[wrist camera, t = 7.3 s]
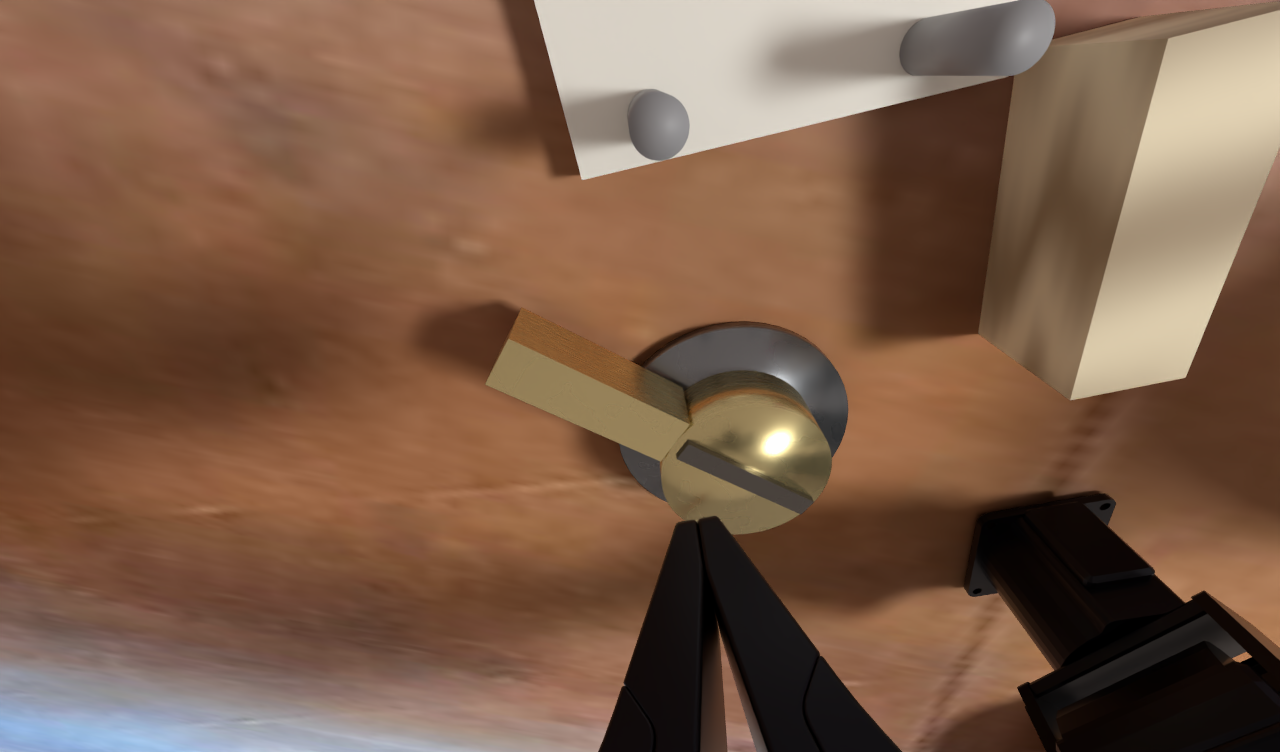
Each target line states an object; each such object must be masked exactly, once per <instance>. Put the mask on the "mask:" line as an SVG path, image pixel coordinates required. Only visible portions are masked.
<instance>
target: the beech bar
mask: <svg viewBox="0 0 1280 752" xmlns="http://www.w3.org/2000/svg"><path fill="white" fill-rule="evenodd" d="M1279 147H1280V1H1277V2H1268V3H1259V4H1250V5H1241V6H1232V7H1223V8H1214V9H1205V10H1196V11H1187V12H1178V13H1170V14H1161V15H1152V16H1143V17H1137V18H1134V19H1130V20H1126V21H1122V22H1118V23H1114V24H1110V25H1107V26H1103V27H1099V28H1095V29H1091V30H1087V31H1083V32H1080V33H1076V34H1072V35H1068V36H1064V37H1060V38H1056V39H1053V40H1051V43H1050V45H1049V47H1048V48H1047V50H1046V52H1045V53H1044V55H1043V56H1042V57H1041V58H1040V59H1039V60H1038V62H1037V63H1035V64H1034V65H1033V66H1032V67H1031V68H1029V69H1028V70H1026V71H1024V72H1022V73H1020V74H1017V75H1014V82H1013V89H1012V96H1011V103H1010V110H1009V117H1008V124H1007V131H1006V139H1005V146H1004V153H1003V160H1002V167H1001V174H1000V181H999V189H998V196H997V203H996V210H995V217H994V224H993V231H992V239H991V246H990V253H989V260H988V267H987V274H986V281H985V288H984V296H983V303H982V310H981V317H980V324H979V331H978V334H979V335H980V336H982V337H983V338H985V339H986V340H987V341H989V342H990V343H991V344H993V345H994V346H996V347H997V348H998V349H1000V350H1001V351H1003V352H1004V353H1005V354H1007V355H1008V356H1009V357H1011V358H1012V359H1014V360H1015V361H1016V362H1018V363H1019V364H1020V365H1022V366H1023V367H1025V368H1026V369H1027V370H1029V371H1030V372H1032V373H1033V374H1034V375H1036V376H1037V377H1038V378H1040V379H1041V380H1043V381H1044V382H1045V383H1047V384H1048V385H1050V386H1051V387H1052V388H1054V389H1055V390H1056V391H1058V392H1059V393H1061V394H1062V395H1063V396H1065V397H1066V398H1067V399H1069V400H1075V399H1080V398H1085V397H1090V396H1095V395H1100V394H1105V393H1110V392H1115V391H1121V390H1126V389H1131V388H1136V387H1141V386H1146V385H1151V384H1156V383H1161V382H1166V381H1171V380H1177V379H1182V378H1186V375H1187V373H1188V370H1189V368H1190V365H1191V363H1192V361H1193V358H1194V356H1195V353H1196V351H1197V348H1198V346H1199V343H1200V341H1201V339H1202V336H1203V334H1204V331H1205V329H1206V326H1207V324H1208V321H1209V319H1210V316H1211V314H1212V312H1213V309H1214V307H1215V304H1216V302H1217V299H1218V297H1219V294H1220V292H1221V290H1222V287H1223V285H1224V282H1225V280H1226V277H1227V275H1228V272H1229V270H1230V267H1231V265H1232V263H1233V260H1234V258H1235V255H1236V253H1237V250H1238V248H1239V245H1240V243H1241V240H1242V238H1243V236H1244V233H1245V231H1246V228H1247V226H1248V223H1249V221H1250V218H1251V216H1252V214H1253V211H1254V209H1255V206H1256V204H1257V201H1258V199H1259V196H1260V194H1261V191H1262V189H1263V187H1264V184H1265V182H1266V179H1267V177H1268V174H1269V172H1270V169H1271V167H1272V165H1273V162H1274V160H1275V157H1276V155H1277V152H1278V150H1279Z"/></svg>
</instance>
